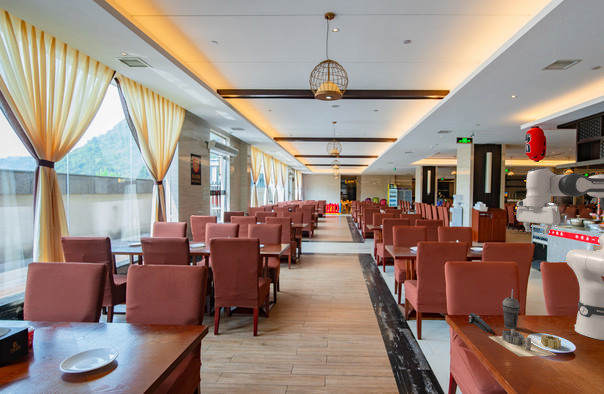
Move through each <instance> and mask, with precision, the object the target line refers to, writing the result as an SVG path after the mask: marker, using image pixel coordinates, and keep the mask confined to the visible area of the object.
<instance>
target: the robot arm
mask: <svg viewBox="0 0 604 394" xmlns="http://www.w3.org/2000/svg"><path fill="white" fill-rule="evenodd" d="M525 185H526V187H525V188H526V195H525V198H524V199H522V200H518V201H517V202H516V206H517V207H516V208H517V209H516V220H517V221H518V222H521V223H523V226H524V228H525V232H526V233H532V228H531V227H530V224H541V225H544V227H545V228H544V229H543V230H542V234H543V235H550V231H551V229H552V228H553V226H554V225H557V226H558V225H560V224H561V213H560V210H559V209H560V207H559V206H558V204H556V203H555V202H554V203H553V202H552V203H551V201H550V200H551V199H550V198H551V197H575V198H576V197H577V198H578V197H581V196H584V195H585V194H587V195H588V196H590V197H593V198H600V199H599V201H598V202H599V207H600V208H601V211H603V212H604V174H595V175H591V176H586V175H583V174H581V173H578V172H576V173H575V172H574V173H568V174H556V173H553V172H552V171H551V170H550V169H549V167H544V166H543V167H538V168H531V169H530V170H528V171H527V175H526V184H525ZM598 242H599V245H600V246H601V249H600V250H592V249H586V248H576V249H575V248H574V249H570V250H569V251H568V252H567V253H566V256H565V261H566V264H567V265H568V266H569V267H570V269H571V270H572V271H573V272H574V275H575V276H576V278H577V282H578V285H579V300H578V303H577V307H578V311H577V316H576V323H575V324H574V331H575V332H576V333H578V334H580V335H582V336H584V337H589V338H592V339H596V340H599V341H604V280H603V278H602V277H604V232H603V233H602V234H601V235H600V236H599V238H598Z"/></svg>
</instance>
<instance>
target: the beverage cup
mask: <svg viewBox="0 0 604 394" xmlns="http://www.w3.org/2000/svg"><path fill="white" fill-rule="evenodd" d="M513 296H514V288H512V289H511V296H508V297H505V298H504V299H503V300H502V304H501V305H502V310H503V323H504V328H505V329H508V330H511V329H514V330H515V331H516V330H517V328H518V320H519V312H520V308H521V306H520V302H519V301H518V300H517V298H514V297H513Z"/></svg>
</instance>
